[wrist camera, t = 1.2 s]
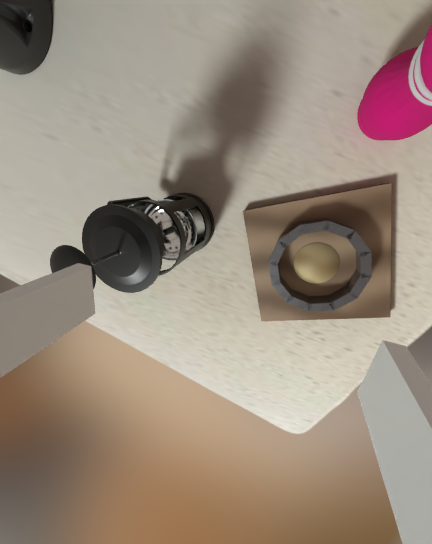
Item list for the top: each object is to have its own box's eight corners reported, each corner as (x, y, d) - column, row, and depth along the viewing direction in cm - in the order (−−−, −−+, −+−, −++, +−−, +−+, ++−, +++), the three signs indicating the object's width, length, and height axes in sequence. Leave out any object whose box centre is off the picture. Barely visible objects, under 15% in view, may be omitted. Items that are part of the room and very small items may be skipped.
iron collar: (265, 227, 35) (263, 230, 32) (365, 211, 30) (371, 213, 28) (276, 305, 38) (275, 313, 36) (367, 300, 34) (372, 309, 32)
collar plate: (244, 210, 36) (242, 211, 35) (388, 183, 30) (391, 183, 29) (262, 317, 41) (261, 321, 40) (387, 312, 35) (390, 317, 34)
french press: (229, 219, 37) (149, 271, 16) (198, 264, 41) (103, 351, 20) (168, 173, 37) (12, 167, 17) (143, 223, 41) (-6, 267, 21)
